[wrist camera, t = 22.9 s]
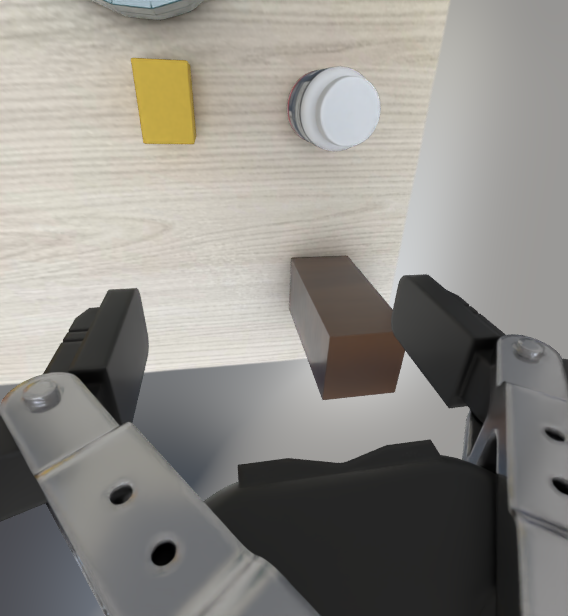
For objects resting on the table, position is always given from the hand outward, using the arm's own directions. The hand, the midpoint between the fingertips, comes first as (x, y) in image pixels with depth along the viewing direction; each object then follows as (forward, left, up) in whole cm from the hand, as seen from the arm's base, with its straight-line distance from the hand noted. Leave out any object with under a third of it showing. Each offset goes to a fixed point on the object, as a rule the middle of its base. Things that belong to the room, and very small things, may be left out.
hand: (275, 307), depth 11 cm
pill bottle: (-7, +5, -24) cm, 26 cm away
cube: (-3, -6, -24) cm, 25 cm away
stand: (+8, +12, -24) cm, 28 cm away
